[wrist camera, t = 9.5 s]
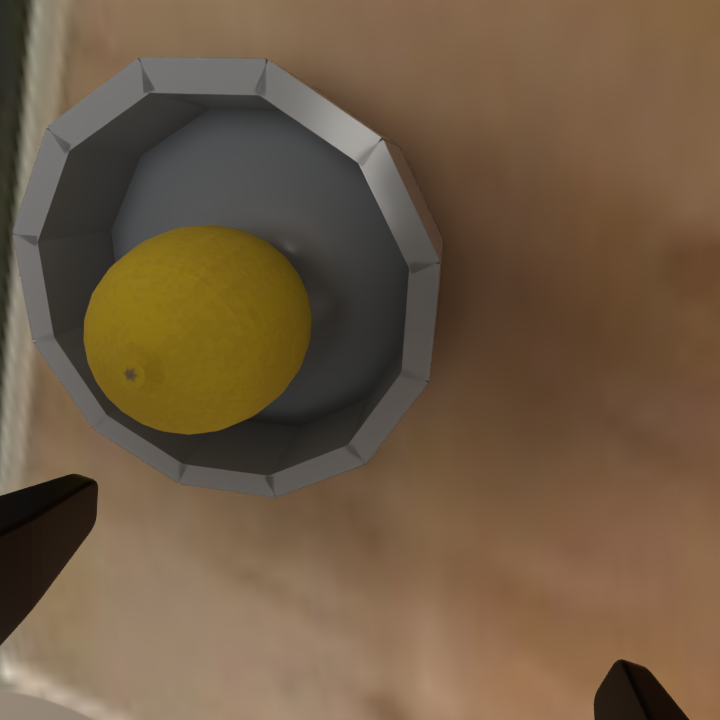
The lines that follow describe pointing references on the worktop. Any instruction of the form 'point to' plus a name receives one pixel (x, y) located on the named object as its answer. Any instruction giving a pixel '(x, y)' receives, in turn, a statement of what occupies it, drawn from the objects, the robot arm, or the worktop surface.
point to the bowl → (258, 217)
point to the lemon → (197, 329)
